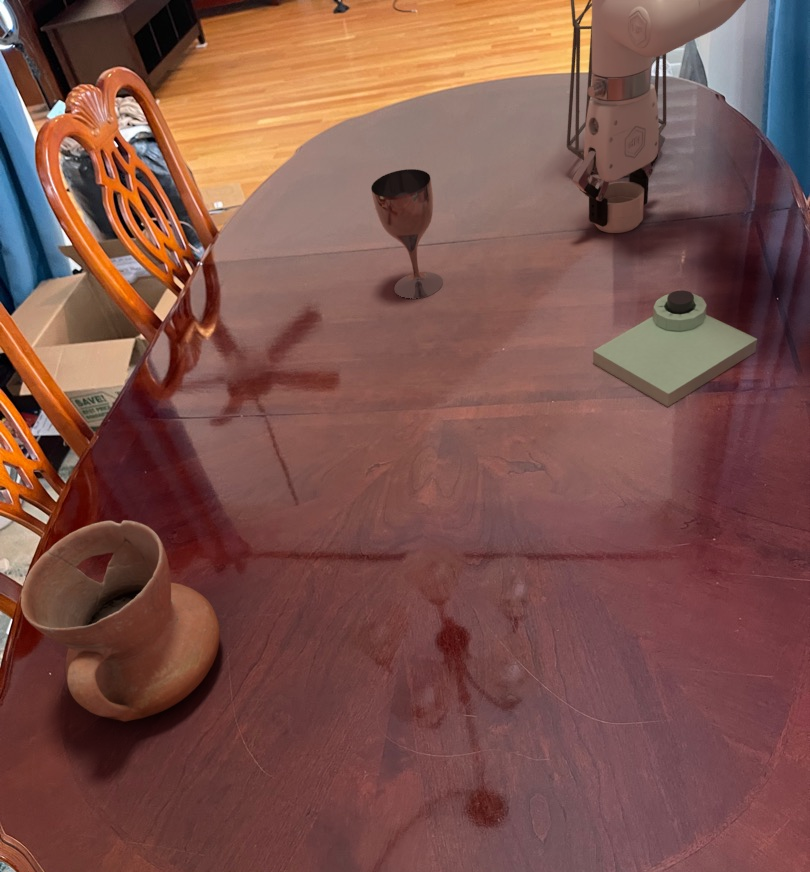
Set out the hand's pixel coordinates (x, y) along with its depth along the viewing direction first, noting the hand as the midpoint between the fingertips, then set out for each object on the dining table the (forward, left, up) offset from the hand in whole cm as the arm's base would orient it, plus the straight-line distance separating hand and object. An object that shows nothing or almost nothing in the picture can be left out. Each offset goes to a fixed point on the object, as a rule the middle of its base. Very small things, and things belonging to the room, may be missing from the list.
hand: (618, 211), depth 119 cm
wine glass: (+30, -9, -2) cm, 31 cm away
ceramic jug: (+87, +29, -2) cm, 92 cm away
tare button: (+15, +26, +2) cm, 29 cm away
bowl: (0, 0, -2) cm, 2 cm away
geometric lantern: (-13, -14, -2) cm, 19 cm away
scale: (+19, +29, -2) cm, 35 cm away
